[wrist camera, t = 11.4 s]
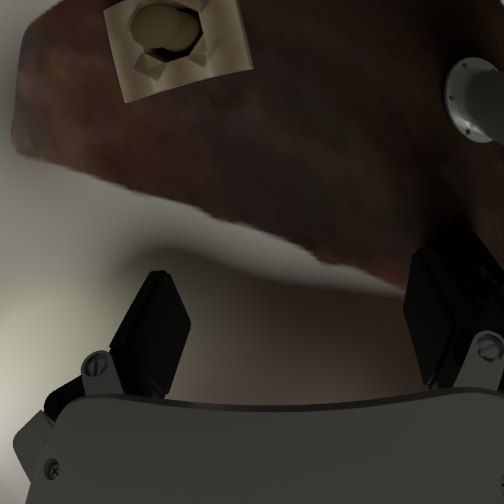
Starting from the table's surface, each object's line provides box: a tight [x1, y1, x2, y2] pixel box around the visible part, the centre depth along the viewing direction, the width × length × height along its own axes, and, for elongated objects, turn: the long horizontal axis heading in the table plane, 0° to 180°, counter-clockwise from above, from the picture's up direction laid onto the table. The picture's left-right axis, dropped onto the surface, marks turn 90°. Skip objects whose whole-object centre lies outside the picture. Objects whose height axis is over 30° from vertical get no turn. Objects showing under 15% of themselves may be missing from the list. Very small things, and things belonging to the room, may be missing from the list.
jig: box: [104, 0, 254, 103], centre depth 28 cm, size 16×14×4 cm
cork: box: [131, 3, 203, 54], centre depth 25 cm, size 6×6×11 cm
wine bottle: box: [428, 224, 504, 339], centre depth 29 cm, size 10×10×33 cm
